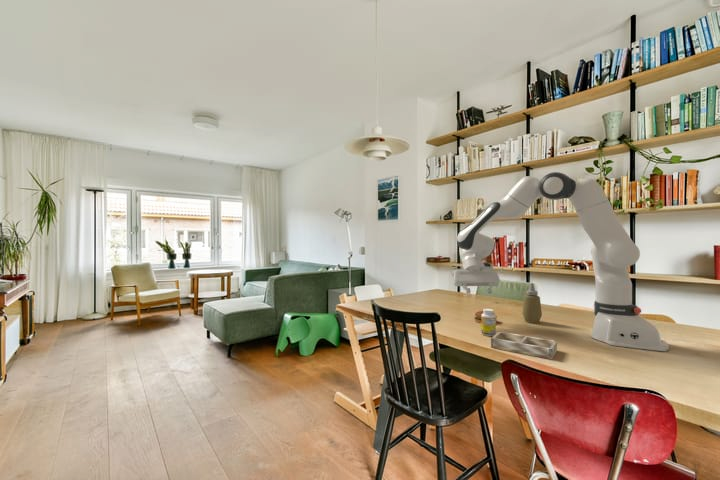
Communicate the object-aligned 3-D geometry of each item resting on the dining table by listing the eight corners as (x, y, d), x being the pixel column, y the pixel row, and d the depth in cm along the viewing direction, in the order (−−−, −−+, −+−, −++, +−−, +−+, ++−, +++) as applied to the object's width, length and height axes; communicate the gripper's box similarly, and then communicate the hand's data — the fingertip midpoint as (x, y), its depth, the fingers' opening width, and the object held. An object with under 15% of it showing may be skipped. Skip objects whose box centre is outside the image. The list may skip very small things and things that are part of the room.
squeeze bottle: (545, 324, 147) (545, 284, 146) (527, 324, 147) (527, 284, 147) (536, 319, 155) (536, 282, 155) (519, 319, 155) (519, 282, 155)
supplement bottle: (484, 331, 136) (484, 307, 136) (497, 334, 132) (497, 309, 132) (479, 334, 132) (479, 309, 132) (493, 337, 128) (493, 311, 128)
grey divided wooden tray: (556, 350, 113) (556, 341, 113) (552, 359, 105) (552, 349, 105) (499, 340, 125) (499, 331, 125) (490, 347, 117) (490, 338, 117)
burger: (501, 323, 149) (501, 313, 149) (484, 325, 146) (484, 315, 146) (486, 318, 159) (486, 308, 159) (470, 320, 156) (470, 310, 156)
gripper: (451, 264, 152) (456, 288, 142) (496, 264, 151) (504, 288, 141) (449, 272, 156) (454, 296, 147) (493, 272, 155) (500, 296, 145)
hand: (479, 292), depth 144 cm, fingers open, 8 cm apart
